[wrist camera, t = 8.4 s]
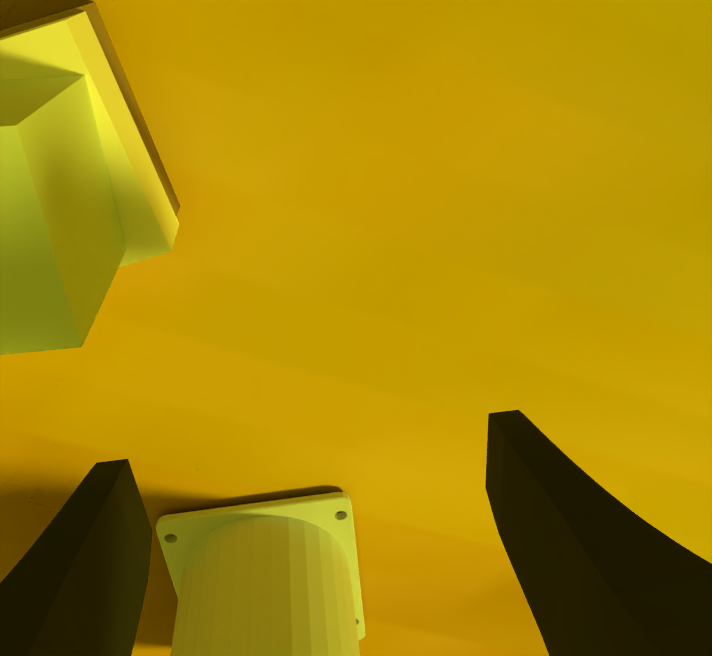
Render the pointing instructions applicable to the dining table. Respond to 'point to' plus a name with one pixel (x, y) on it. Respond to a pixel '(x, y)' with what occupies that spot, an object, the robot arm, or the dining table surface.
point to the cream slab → (100, 126)
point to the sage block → (53, 215)
